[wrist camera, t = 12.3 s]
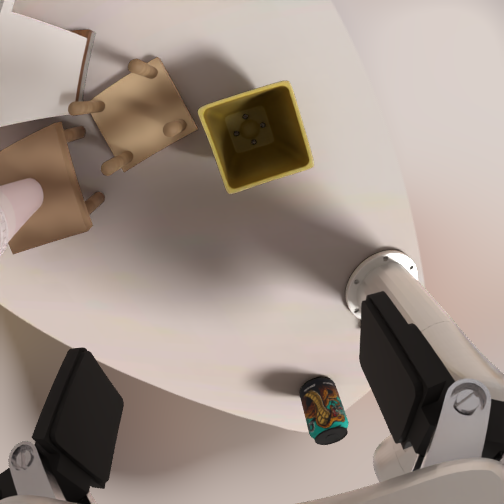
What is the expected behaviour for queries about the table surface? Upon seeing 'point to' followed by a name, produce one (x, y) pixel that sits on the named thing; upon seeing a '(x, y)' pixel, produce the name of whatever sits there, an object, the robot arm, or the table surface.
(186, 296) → the table surface
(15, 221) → the smoothie
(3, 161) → the stool
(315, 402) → the beverage can
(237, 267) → the table surface
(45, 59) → the display case
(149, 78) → the upturned stool
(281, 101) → the flower pot
